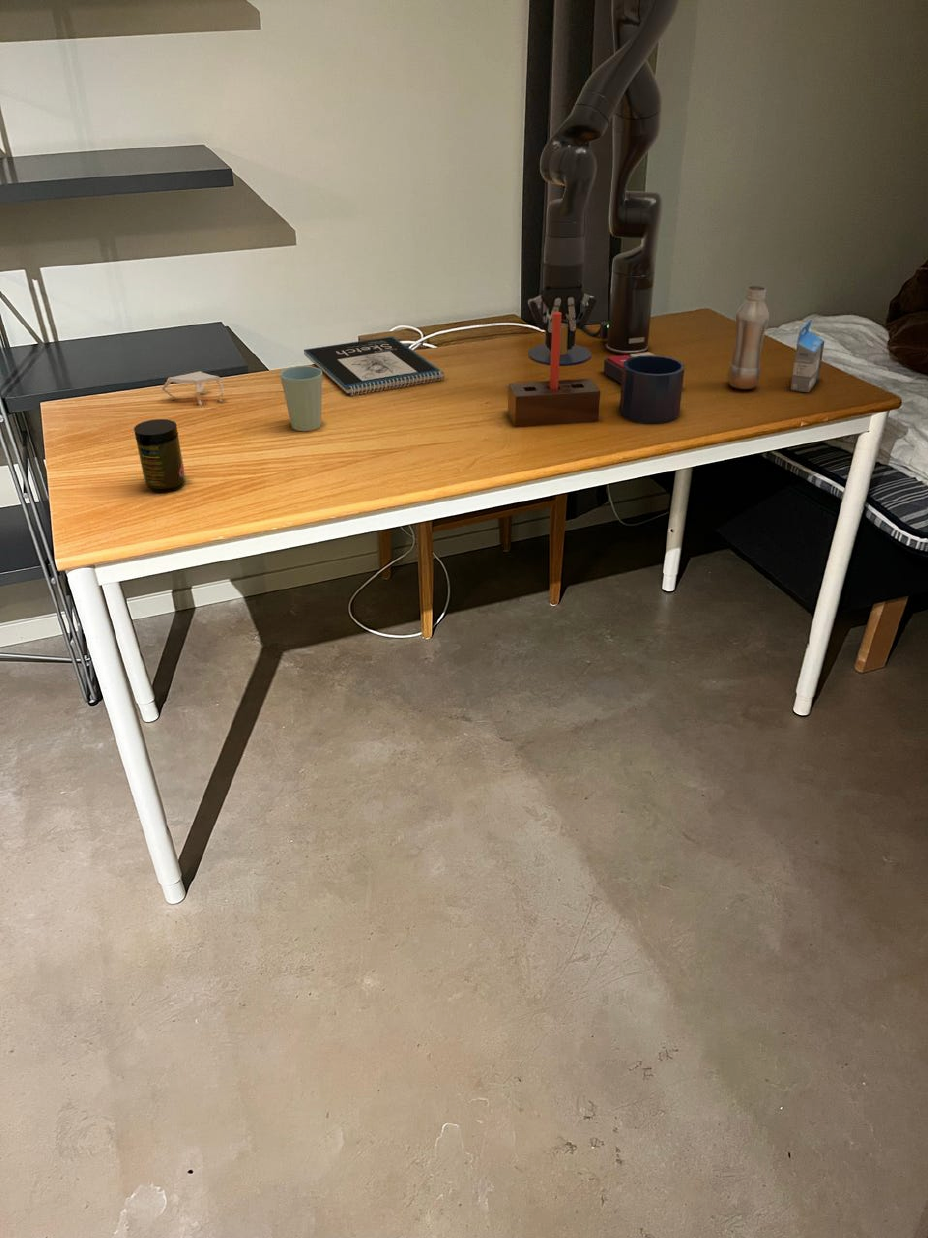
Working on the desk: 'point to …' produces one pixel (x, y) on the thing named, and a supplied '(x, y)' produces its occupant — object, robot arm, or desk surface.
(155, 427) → the supplement container
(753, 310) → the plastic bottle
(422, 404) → the desk surface
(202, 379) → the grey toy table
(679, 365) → the tin
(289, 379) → the cup
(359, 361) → the sketchbook
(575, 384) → the straw holder
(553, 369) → the straw
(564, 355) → the tin lid
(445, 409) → the desk surface
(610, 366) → the calculator
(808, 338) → the label tape box
